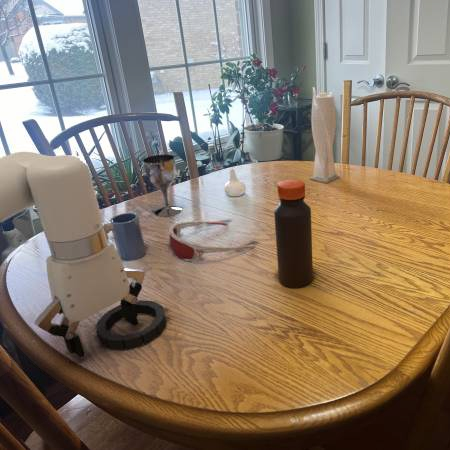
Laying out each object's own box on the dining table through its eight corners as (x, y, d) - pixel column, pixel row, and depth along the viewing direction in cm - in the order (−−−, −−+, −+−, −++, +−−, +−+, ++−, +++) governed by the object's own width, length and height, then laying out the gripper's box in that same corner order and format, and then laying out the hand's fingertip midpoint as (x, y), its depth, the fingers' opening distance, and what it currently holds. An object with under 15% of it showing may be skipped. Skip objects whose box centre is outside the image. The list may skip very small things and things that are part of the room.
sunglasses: (159, 240, 104) (159, 220, 102) (225, 233, 113) (226, 215, 111) (183, 271, 90) (184, 249, 89) (256, 260, 99) (258, 239, 98)
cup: (128, 263, 95) (119, 226, 91) (113, 256, 98) (104, 219, 94) (151, 252, 99) (143, 216, 95) (136, 246, 102) (128, 210, 98)
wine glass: (148, 211, 121) (137, 159, 115) (174, 203, 126) (165, 152, 119) (161, 219, 116) (150, 165, 109) (188, 211, 120) (179, 158, 114)
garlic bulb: (248, 190, 133) (246, 164, 130) (243, 197, 128) (240, 171, 124) (228, 189, 134) (225, 164, 131) (222, 197, 129) (219, 171, 125)
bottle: (316, 285, 84) (313, 188, 75) (281, 291, 83) (275, 192, 74) (308, 268, 90) (305, 176, 81) (276, 272, 89) (269, 179, 80)
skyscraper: (306, 178, 141) (302, 88, 129) (321, 172, 147) (319, 85, 135) (326, 183, 136) (325, 90, 124) (341, 176, 142) (342, 86, 130)
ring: (122, 359, 67) (119, 349, 67) (86, 333, 74) (84, 323, 73) (179, 323, 75) (177, 314, 74) (142, 302, 81) (140, 293, 80)
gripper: (119, 215, 71) (140, 303, 79) (2, 259, 59) (40, 358, 67) (145, 226, 67) (165, 318, 74) (26, 276, 55) (63, 380, 62)
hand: (106, 337), depth 70 cm, fingers open, 8 cm apart
